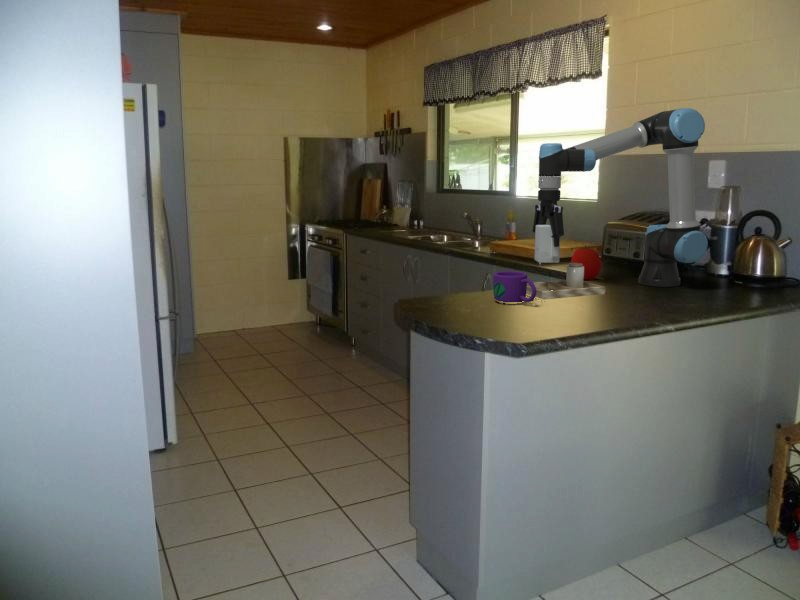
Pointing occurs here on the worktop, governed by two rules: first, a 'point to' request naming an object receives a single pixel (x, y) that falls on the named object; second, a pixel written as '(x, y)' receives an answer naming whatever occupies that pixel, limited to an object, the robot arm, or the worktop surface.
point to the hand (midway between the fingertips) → (546, 254)
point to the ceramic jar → (575, 275)
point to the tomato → (588, 262)
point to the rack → (563, 290)
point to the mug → (512, 286)
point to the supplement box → (544, 245)
